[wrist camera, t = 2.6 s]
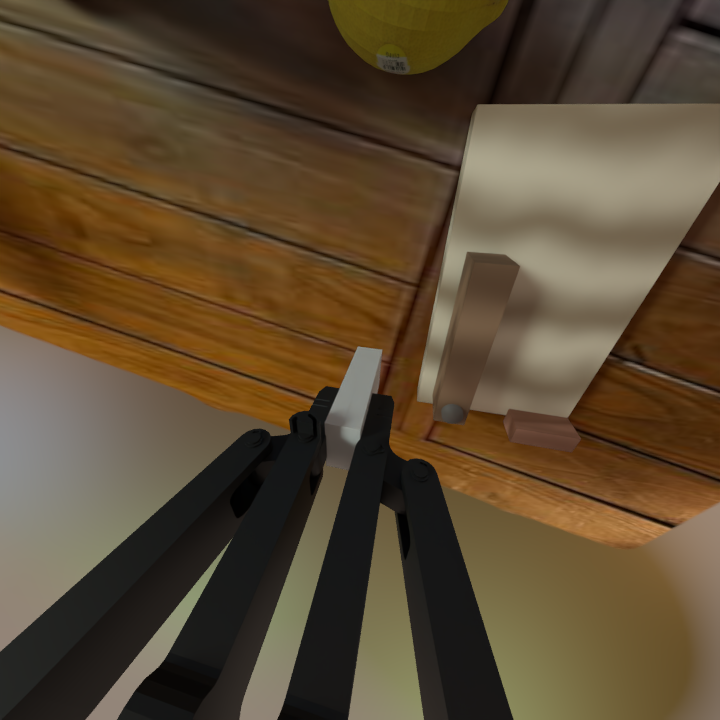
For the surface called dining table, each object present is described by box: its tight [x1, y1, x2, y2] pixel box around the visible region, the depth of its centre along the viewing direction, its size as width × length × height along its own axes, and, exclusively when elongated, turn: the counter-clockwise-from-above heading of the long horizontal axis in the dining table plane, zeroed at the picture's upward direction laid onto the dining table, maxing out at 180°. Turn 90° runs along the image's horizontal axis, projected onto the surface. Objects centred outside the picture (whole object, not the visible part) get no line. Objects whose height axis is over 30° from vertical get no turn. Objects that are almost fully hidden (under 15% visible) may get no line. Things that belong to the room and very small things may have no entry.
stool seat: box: [417, 104, 720, 452], centre depth 23 cm, size 27×16×6 cm, turn 178°
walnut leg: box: [432, 252, 520, 425], centre depth 24 cm, size 16×3×5 cm, turn 178°
